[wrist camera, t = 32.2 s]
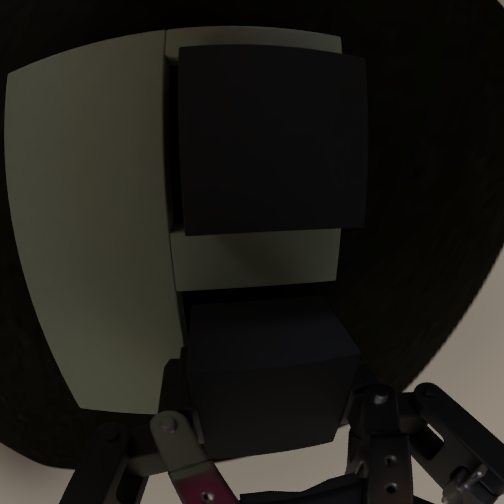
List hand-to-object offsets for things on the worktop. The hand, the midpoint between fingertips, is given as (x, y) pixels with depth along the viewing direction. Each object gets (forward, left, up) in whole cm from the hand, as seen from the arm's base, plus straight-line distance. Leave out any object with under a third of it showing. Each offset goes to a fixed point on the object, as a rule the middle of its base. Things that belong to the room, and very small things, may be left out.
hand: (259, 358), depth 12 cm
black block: (0, 0, -1) cm, 1 cm away
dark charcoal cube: (0, -9, -2) cm, 9 cm away
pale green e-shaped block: (+4, -4, -2) cm, 6 cm away
